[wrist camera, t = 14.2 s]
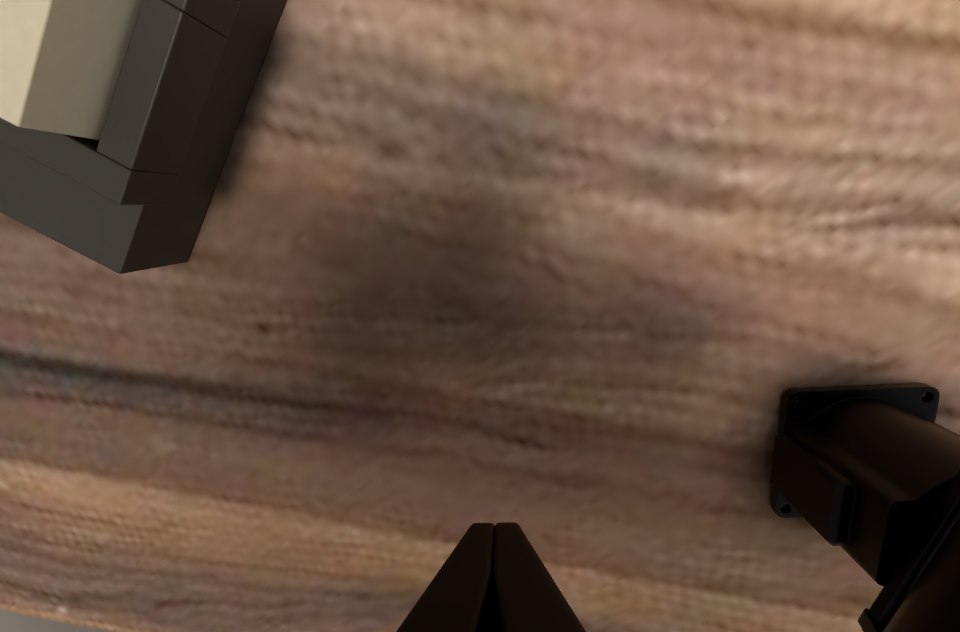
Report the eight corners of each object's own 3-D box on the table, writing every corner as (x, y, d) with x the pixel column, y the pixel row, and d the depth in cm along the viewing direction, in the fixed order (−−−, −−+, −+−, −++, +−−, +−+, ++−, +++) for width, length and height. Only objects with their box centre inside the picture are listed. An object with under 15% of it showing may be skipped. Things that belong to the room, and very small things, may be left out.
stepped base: (326, -42, 18) (240, -163, 12) (204, 271, 21) (89, 297, 15) (12, -228, 17) (-249, -459, 11) (-65, 130, 20) (-299, 98, 14)
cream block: (144, 0, 13) (63, -47, 11) (101, 141, 14) (16, 127, 12) (1, -82, 13) (-117, -149, 10) (-33, 68, 14) (-149, 39, 11)
